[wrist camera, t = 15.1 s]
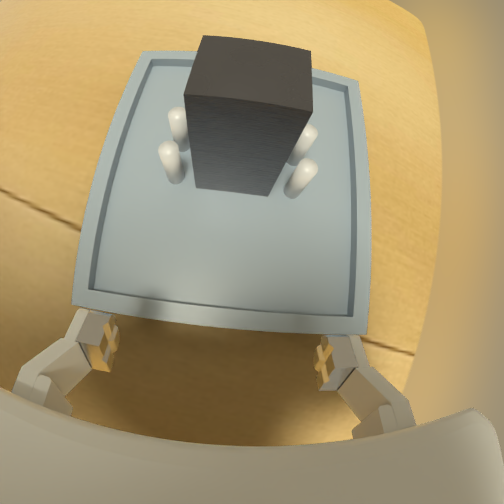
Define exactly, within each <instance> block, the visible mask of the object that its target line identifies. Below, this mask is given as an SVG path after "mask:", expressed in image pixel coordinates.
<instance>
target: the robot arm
mask: <svg viewBox="0 0 504 504" xmlns="http://www.w3.org/2000/svg"><path fill="white" fill-rule="evenodd" d="M115 323H116V318H115V315H113V314H108V313H104V312H99V311H94V310H90V309H85V308H79V309H78V310H77V312H76V314H75V316H74V318H73V320H72V322H71V324H70V326H69V328H68V331H67V333H66V335H65V337H64V338H60V339H59V340H57V341H56V342H54V343H53V344H52V345H50V346H49V347H47V348H46V349H45V350H43V351H42V352H41V353H39V354H38V355H36V356H35V357H34V358H32V359H31V360H30V361H28V362H27V363H26V364H24V365H23V366H22V367H21V369H20V372H19V374H18V377H17V379H16V381H15V384H14V386H13V389H12V392H10V391H8V390H5V389H3V388H1V387H0V504H504V465H503V460H502V455H501V450H500V446H499V442H498V438H497V435H496V432H495V429H494V427H493V425H492V423H491V422H490V421H489V420H488V419H487V418H486V417H485V416H483V415H482V414H481V413H480V412H479V411H477V410H476V409H474V408H469V409H466V410H463V411H460V412H458V413H455V414H452V415H449V416H446V417H443V418H440V419H437V420H434V421H431V422H427V423H424V424H420V425H417V426H416V423H415V420H414V416H413V413H412V410H411V407H410V404H409V401H408V399H407V398H405V397H404V396H403V395H402V394H401V393H400V392H399V391H398V390H397V389H396V388H395V387H394V386H393V385H392V384H391V383H390V382H388V381H387V380H386V379H385V378H384V377H383V376H382V375H381V374H380V373H379V372H378V371H377V370H376V369H375V368H374V367H370V365H369V362H368V359H367V356H366V353H365V350H364V347H363V344H362V341H361V339H360V337H359V335H323V336H322V338H321V340H320V342H321V344H320V345H319V346H317V347H316V349H315V351H314V355H313V365H314V369H315V370H316V371H317V372H318V374H317V376H316V381H317V386H318V391H335V390H337V392H338V393H339V395H340V396H341V397H342V399H343V400H344V401H345V402H346V404H347V405H348V406H349V407H350V409H351V410H352V411H353V412H354V414H355V415H356V416H357V417H358V419H359V420H360V421H361V423H359V424H358V425H357V426H356V427H354V428H353V430H352V436H353V439H350V440H343V441H335V442H327V443H317V444H305V445H289V446H230V445H213V444H201V443H192V442H183V441H175V440H168V439H162V438H156V437H150V436H145V435H140V434H135V433H130V432H126V431H121V430H117V429H113V428H109V427H105V426H101V425H98V424H94V423H91V422H87V421H84V420H81V419H78V418H74V417H71V414H72V410H73V407H72V405H71V404H70V403H69V401H68V400H67V399H66V398H65V396H66V395H67V394H68V393H69V392H70V391H71V390H72V389H73V388H74V387H75V386H76V385H77V384H78V383H79V382H80V381H81V380H82V379H83V378H84V377H85V376H86V375H87V374H88V373H89V372H90V371H91V370H92V369H96V370H101V371H106V372H111V369H112V366H113V362H114V356H113V353H114V352H115V351H116V350H117V349H118V346H119V340H120V332H119V328H118V327H117V326H116V325H115ZM91 368H92V369H91Z"/></svg>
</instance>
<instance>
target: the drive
mask: <svg viewBox="0 0 504 504" xmlns="http://www.w3.org/2000/svg"><path fill="white" fill-rule="evenodd" d="M183 95H184V104H185V112H186V120H187V128H188V136H189V144H190V151H191V158H192V165H193V172H194V179H195V186H196V188H199V189H208V190H217V191H226V192H234V193H242V194H250V195H258V196H265V197H268V195H269V194H270V192H271V190H272V188H273V186H274V184H275V182H276V180H277V179H278V177H279V175H280V173H281V171H282V169H283V167H284V165H285V164H286V162H287V160H288V158H289V156H290V154H291V152H292V150H293V149H294V147H295V145H296V143H297V141H298V139H299V137H300V136H301V134H302V132H303V130H304V128H305V126H306V124H307V123H308V121H309V119H310V117H311V115H312V113H313V87H312V65H311V51H309V50H304V49H300V48H295V47H291V46H286V45H280V44H275V43H269V42H263V41H256V40H249V39H241V38H232V37H221V36H206V35H203V38H202V40H201V43H200V46H199V48H198V51H197V54H196V57H195V60H194V63H193V66H192V69H191V72H190V75H189V78H188V81H187V84H186V87H185V91H184V94H183Z"/></svg>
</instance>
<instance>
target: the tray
mask: <svg viewBox="0 0 504 504" xmlns="http://www.w3.org/2000/svg"><path fill="white" fill-rule="evenodd" d="M196 54H197V52H196V51H143V52H142V54H141V56H140V58H139V60H138V62H137V64H136V66H135V68H134V70H133V72H132V74H131V77H130V79H129V81H128V83H127V85H126V88H125V90H124V92H123V95H122V97H121V99H120V102H119V104H118V107H117V109H116V112H115V115H114V117H113V120H112V122H111V125H110V128H109V131H108V134H107V136H106V139H105V142H104V145H103V148H102V151H101V155H100V158H99V161H98V164H97V168H96V171H95V175H94V178H93V182H92V186H91V190H90V194H89V198H88V202H87V206H86V211H85V215H84V220H83V225H82V230H81V235H80V241H79V247H78V253H77V259H76V266H75V274H74V282H73V291H72V302H71V304H72V305H76V306H81V307H86V308H91V309H96V310H101V311H106V312H112V313H117V314H123V315H129V316H135V317H141V318H148V319H155V320H162V321H169V322H176V323H184V324H192V325H201V326H210V327H219V328H230V329H241V330H253V331H267V332H284V333H305V334H342V335H366V334H367V324H368V312H369V297H370V279H371V196H370V177H369V163H368V151H367V141H366V132H365V124H364V116H363V109H362V102H361V95H360V89H359V83H358V81H356V80H353V79H350V78H347V77H343V76H340V75H336V74H333V73H329V72H325V71H322V70H318V69H314V68H312V87H313V113H312V115H311V117H310V119H309V121H308V123H307V124H306V126H305V128H304V130H303V132H302V134H301V136H300V137H299V139H298V141H297V143H296V145H295V147H294V149H293V150H292V152H291V154H290V156H289V158H288V160H287V162H286V164H285V165H284V167H283V169H282V171H281V173H280V175H279V177H278V179H277V180H276V182H275V184H274V186H273V188H272V190H271V192H270V194H269V195H268V197H265V196H258V195H250V194H242V193H234V192H226V191H217V190H208V189H199V188H196V186H195V179H194V172H193V165H192V158H191V151H190V144H189V136H188V128H187V120H186V112H185V104H184V95H183V94H184V91H185V87H186V84H187V81H188V78H189V75H190V72H191V69H192V66H193V63H194V60H195V57H196Z"/></svg>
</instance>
